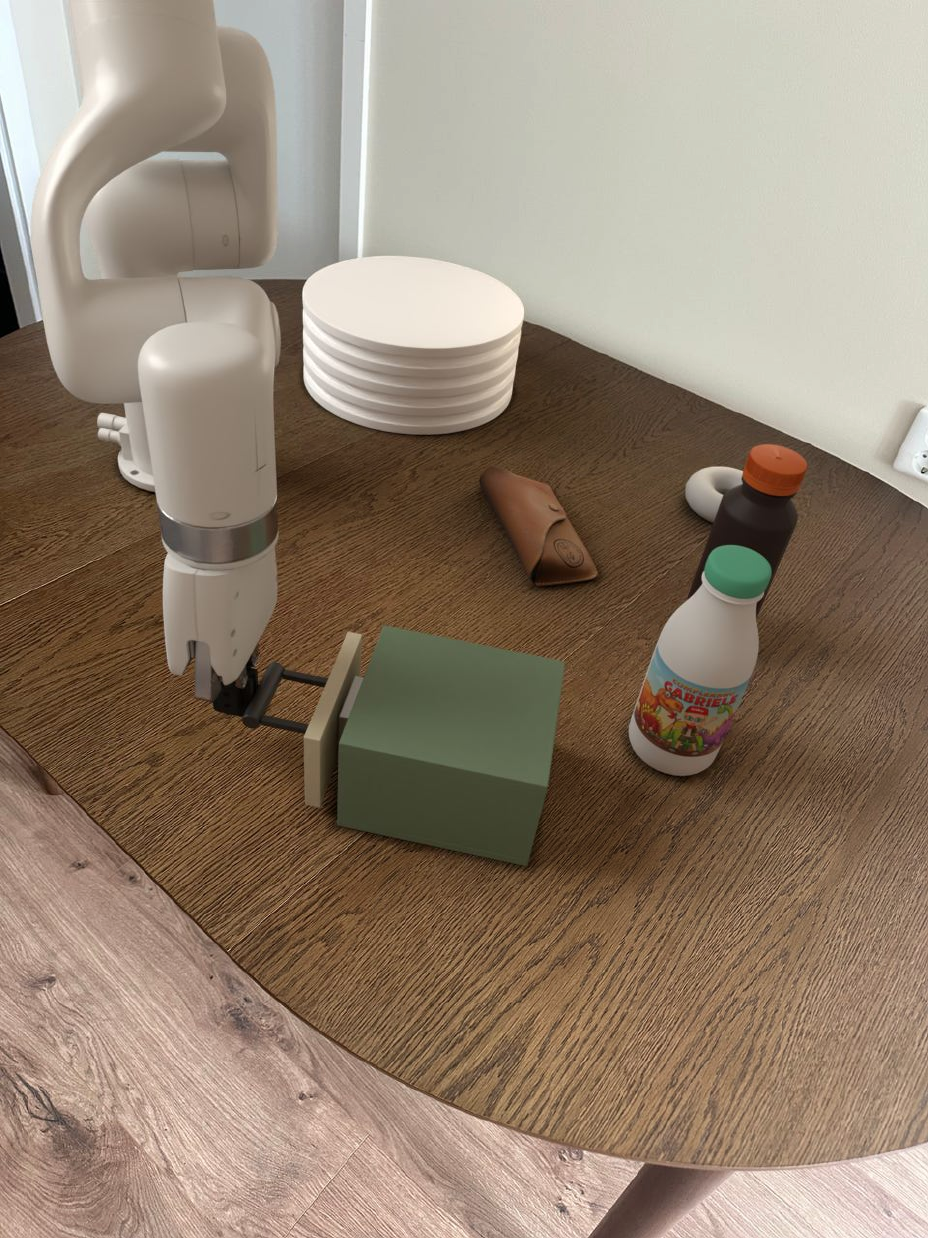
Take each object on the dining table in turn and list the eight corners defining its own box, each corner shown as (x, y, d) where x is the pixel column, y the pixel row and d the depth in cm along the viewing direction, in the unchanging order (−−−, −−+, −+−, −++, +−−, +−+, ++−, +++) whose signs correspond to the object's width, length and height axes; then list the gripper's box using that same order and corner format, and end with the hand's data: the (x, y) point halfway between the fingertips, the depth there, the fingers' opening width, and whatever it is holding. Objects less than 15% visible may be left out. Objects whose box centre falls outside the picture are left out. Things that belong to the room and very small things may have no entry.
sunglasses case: (605, 576, 94) (586, 534, 90) (546, 608, 95) (523, 569, 90) (545, 480, 107) (525, 439, 102) (492, 509, 108) (470, 470, 103)
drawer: (232, 789, 69) (225, 720, 64) (281, 685, 78) (278, 617, 73) (479, 842, 68) (492, 777, 63) (501, 730, 76) (515, 664, 71)
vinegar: (665, 616, 91) (723, 443, 78) (720, 604, 94) (785, 433, 80) (703, 662, 87) (771, 486, 74) (760, 647, 89) (836, 474, 76)
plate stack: (393, 317, 137) (398, 240, 130) (550, 383, 126) (565, 303, 119) (258, 377, 119) (254, 291, 111) (427, 460, 108) (436, 371, 101)
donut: (762, 543, 103) (769, 497, 110) (772, 519, 101) (779, 473, 108) (675, 519, 105) (688, 475, 112) (683, 495, 102) (696, 451, 109)
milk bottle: (618, 710, 81) (676, 528, 68) (701, 710, 82) (774, 531, 69) (637, 779, 75) (705, 595, 62) (726, 779, 76) (811, 598, 63)
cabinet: (337, 825, 69) (338, 743, 62) (378, 707, 78) (383, 624, 72) (526, 867, 68) (548, 787, 61) (545, 741, 77) (565, 661, 71)
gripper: (209, 449, 65) (227, 636, 78) (111, 575, 54) (149, 770, 66) (310, 469, 65) (312, 654, 77) (231, 599, 54) (248, 792, 66)
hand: (236, 707), depth 72 cm, fingers closed
